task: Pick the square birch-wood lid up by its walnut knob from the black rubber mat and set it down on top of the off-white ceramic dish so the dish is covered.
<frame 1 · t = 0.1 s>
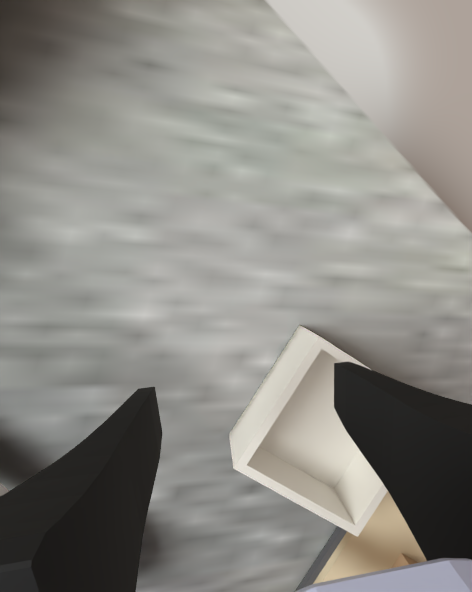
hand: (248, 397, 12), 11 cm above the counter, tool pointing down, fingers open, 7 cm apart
dish: (316, 411, 23), on the counter
mat: (397, 570, 25), on the counter
lid: (401, 576, 24), resting on mat
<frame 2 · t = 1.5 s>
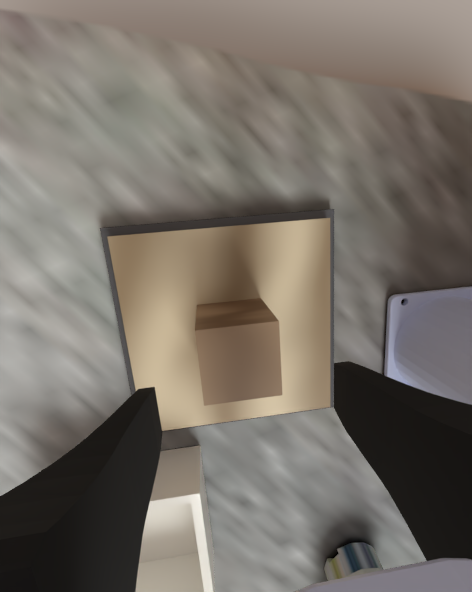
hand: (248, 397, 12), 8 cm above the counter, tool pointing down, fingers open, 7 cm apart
dish: (141, 510, 22), on the counter
mat: (230, 325, 20), on the counter
lid: (230, 328, 19), resting on mat
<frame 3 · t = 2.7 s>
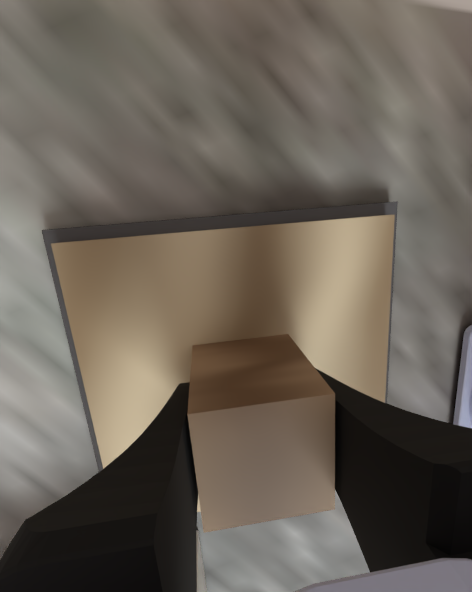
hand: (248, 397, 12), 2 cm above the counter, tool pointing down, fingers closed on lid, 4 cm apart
mat: (241, 370, 14), on the counter
lid: (242, 375, 13), resting on mat, touching gripper
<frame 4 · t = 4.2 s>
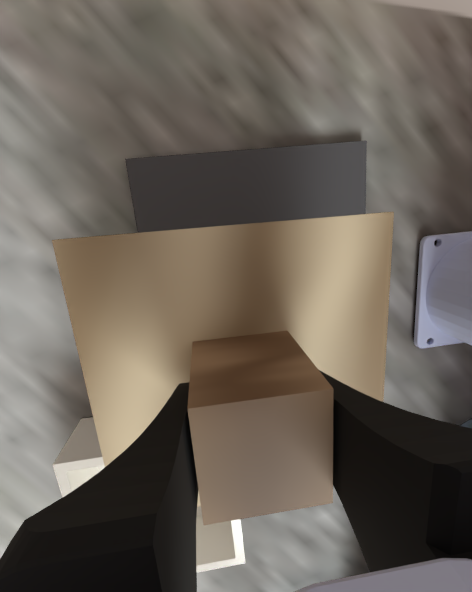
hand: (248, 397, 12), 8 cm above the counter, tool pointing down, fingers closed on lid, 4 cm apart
dish: (165, 466, 22), on the counter
mat: (257, 268, 19), on the counter
lid: (242, 372, 13), point 7 cm above the counter, touching gripper
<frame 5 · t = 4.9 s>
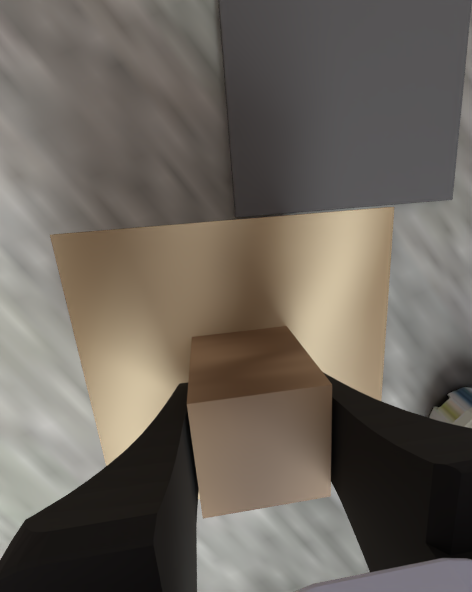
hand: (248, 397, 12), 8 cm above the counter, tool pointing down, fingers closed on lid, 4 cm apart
mat: (345, 82, 17), on the counter
toothbrush head: (417, 507, 26), on the counter
lid: (241, 367, 13), point 6 cm above the counter, touching gripper
when the fingers open (7 cm above the counter, at t = 5.6 s): lid stays where it is, resting on dish.
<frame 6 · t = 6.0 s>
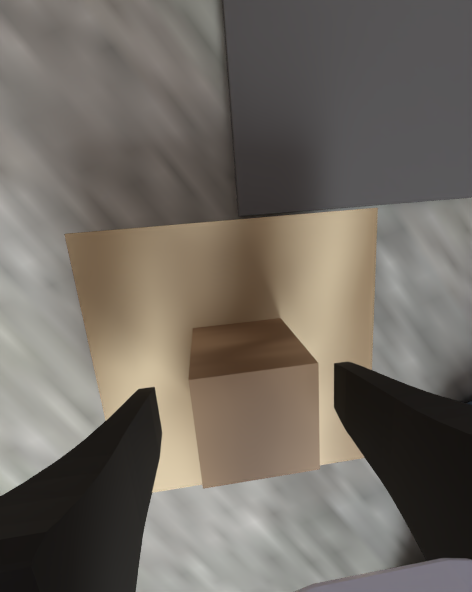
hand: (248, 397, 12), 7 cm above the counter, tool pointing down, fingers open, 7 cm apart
mat: (359, 68, 16), on the counter
lid: (239, 357, 14), point 4 cm above the counter, touching dish
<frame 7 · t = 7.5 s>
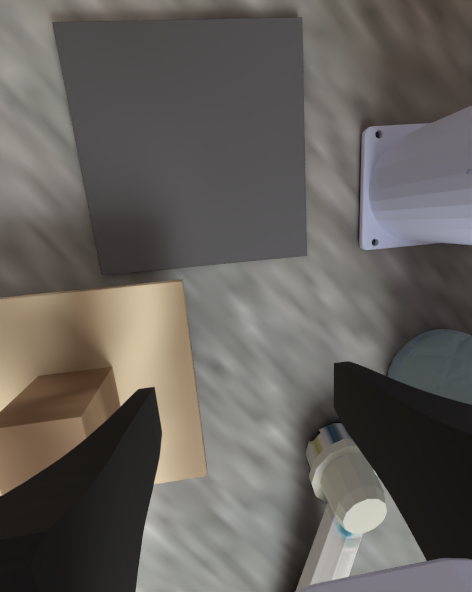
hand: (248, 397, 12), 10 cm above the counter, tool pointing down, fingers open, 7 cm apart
mat: (196, 155, 19), on the counter
toothbrush head: (311, 530, 28), on the counter
lid: (87, 396, 18), point 4 cm above the counter, touching dish
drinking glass: (431, 371, 25), on the counter
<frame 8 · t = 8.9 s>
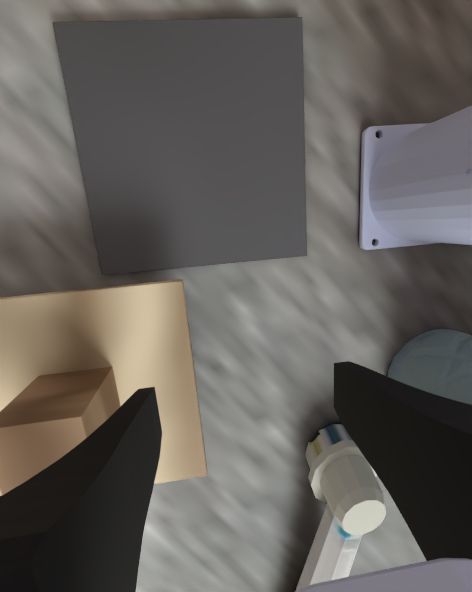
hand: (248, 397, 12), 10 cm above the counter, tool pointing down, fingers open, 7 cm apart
mat: (196, 155, 19), on the counter
toothbrush head: (310, 531, 28), on the counter
lid: (87, 396, 18), point 4 cm above the counter, touching dish
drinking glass: (431, 371, 25), on the counter
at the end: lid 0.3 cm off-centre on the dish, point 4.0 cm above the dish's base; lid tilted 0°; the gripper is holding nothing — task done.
